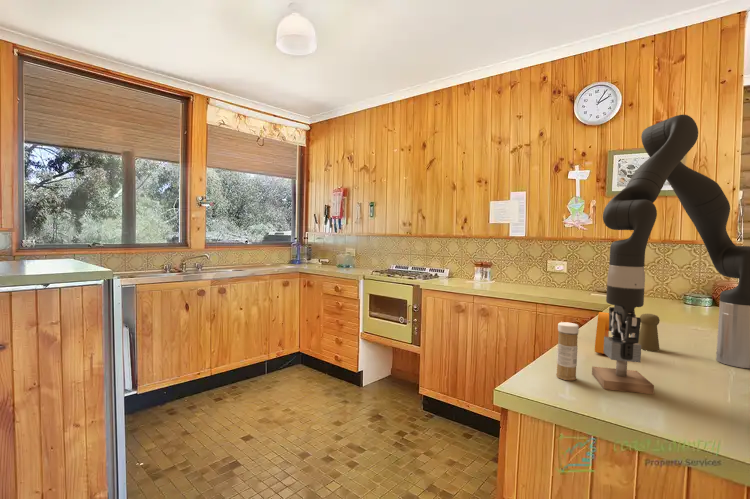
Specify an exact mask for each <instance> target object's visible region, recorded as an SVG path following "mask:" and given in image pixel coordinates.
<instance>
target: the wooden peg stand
mask: <svg viewBox="0 0 750 499" xmlns="http://www.w3.org/2000/svg"><path fill="white" fill-rule="evenodd" d="M615 363H616V364H615V367H614V368H612V367H603V366H602V367H601V366H593V365H592V366H591V375H592V376H593V378H594V379H595V380H596V382H598V384H599V385H600V386H601V387H602V389H604V390H611V391H612V390H613V391H620V392H629V393H637V394H640V393H641V394H647V395H655V389H654V388H655V385H654V384H653V383H652V382H650V381H649V380H648V379H647V378H646V377H645V376H643V375H642V374H641V373H640V372H639V371H638V370H633V369H628V361H619V360H615Z"/></svg>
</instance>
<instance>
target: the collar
mask: <svg viewBox="0 0 750 499" xmlns="http://www.w3.org/2000/svg"><path fill="white" fill-rule="evenodd" d="M621 346H622V341H621V338H616V337H612V336H609V337H605V336H604V352H603V353H605V354H604V355H605V356H607V357H608V358H609V359H610V360H611V361H616V360H619V361H627V362H630V363H641V360H642V350H641V345H640V344H639V343H635V344H633V359H632V360H624V359H622V358H621Z"/></svg>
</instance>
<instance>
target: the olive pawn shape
mask: <svg viewBox="0 0 750 499" xmlns="http://www.w3.org/2000/svg"><path fill="white" fill-rule="evenodd" d="M639 318H641V324H640V332H639V342H638V343H639V344H640V345H641V349H643V351H646V350H647V352H660V342H659V340H660V339H659V333H658V332H659V331H658V325H659V324H660V320H661V319H660V317H659V316H658V315H656V314H653V313H641V314H640V315H639Z"/></svg>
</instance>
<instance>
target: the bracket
mask: <svg viewBox="0 0 750 499" xmlns="http://www.w3.org/2000/svg"><path fill="white" fill-rule="evenodd" d="M615 323H616V322H615ZM596 325H597V326H596V330H595V331H596V332H595V343H594V353H597V354H598V353H599V354H602V355H606V354H605V353H603V352H604V336H605V337H610V335H609V332H610V331H609V312H603V311H599V312H598V314H597V323H596Z"/></svg>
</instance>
